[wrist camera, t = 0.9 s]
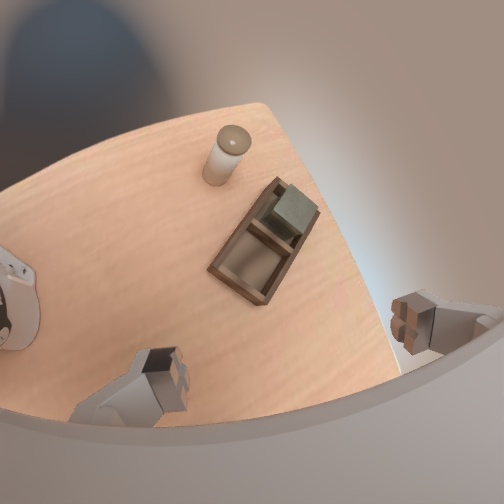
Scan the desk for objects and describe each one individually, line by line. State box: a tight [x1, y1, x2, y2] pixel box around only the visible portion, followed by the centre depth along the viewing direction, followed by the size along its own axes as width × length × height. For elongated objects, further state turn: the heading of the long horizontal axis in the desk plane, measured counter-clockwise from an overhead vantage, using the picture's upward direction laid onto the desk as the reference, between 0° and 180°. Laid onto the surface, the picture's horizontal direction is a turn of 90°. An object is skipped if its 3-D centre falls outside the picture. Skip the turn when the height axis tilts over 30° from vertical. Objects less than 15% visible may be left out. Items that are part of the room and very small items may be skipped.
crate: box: [207, 177, 320, 306], centre depth 50 cm, size 11×21×5 cm, turn 146°
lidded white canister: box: [202, 125, 251, 186], centre depth 46 cm, size 5×5×13 cm
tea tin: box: [259, 184, 318, 241], centre depth 50 cm, size 6×6×8 cm
